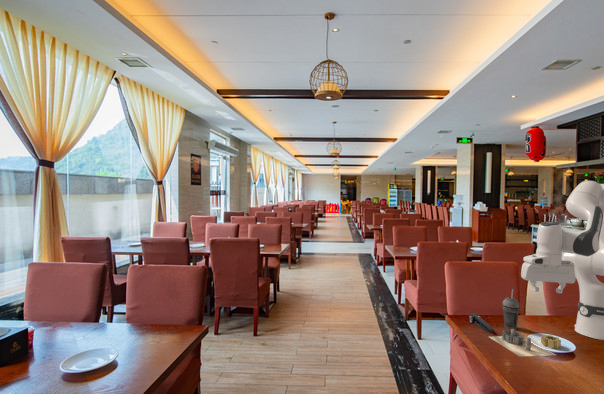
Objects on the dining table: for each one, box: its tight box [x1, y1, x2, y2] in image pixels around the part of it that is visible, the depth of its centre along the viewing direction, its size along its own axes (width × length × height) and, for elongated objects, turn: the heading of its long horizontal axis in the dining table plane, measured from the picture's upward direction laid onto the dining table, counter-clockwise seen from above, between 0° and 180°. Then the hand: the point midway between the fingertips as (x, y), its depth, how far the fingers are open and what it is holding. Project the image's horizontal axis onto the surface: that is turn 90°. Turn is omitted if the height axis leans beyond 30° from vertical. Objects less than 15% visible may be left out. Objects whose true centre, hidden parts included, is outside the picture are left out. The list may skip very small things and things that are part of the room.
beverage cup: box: [501, 288, 521, 331], centre depth 155 cm, size 7×7×20 cm
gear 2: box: [540, 334, 562, 350], centre depth 137 cm, size 7×7×4 cm
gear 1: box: [501, 329, 526, 345], centre depth 141 cm, size 8×8×3 cm
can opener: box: [468, 312, 495, 334], centre depth 156 cm, size 18×7×6 cm, turn 178°
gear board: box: [488, 329, 557, 357], centre depth 136 cm, size 16×18×6 cm
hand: (547, 292), depth 139 cm, fingers open, 8 cm apart
